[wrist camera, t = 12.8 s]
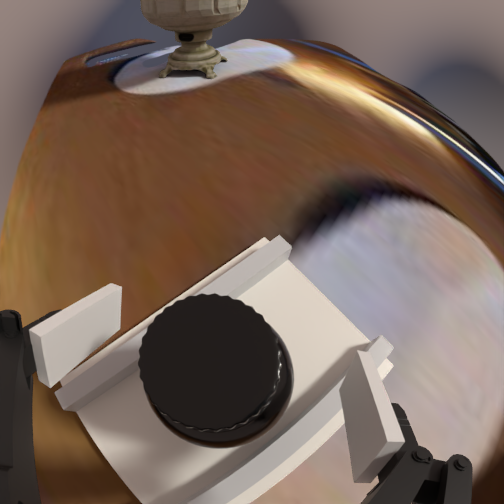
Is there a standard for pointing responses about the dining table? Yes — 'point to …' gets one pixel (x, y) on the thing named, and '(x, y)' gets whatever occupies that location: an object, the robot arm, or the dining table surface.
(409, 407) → the dining table surface
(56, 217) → the dining table surface
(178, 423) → the supplement bottle
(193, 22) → the samovar
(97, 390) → the rail cradle
